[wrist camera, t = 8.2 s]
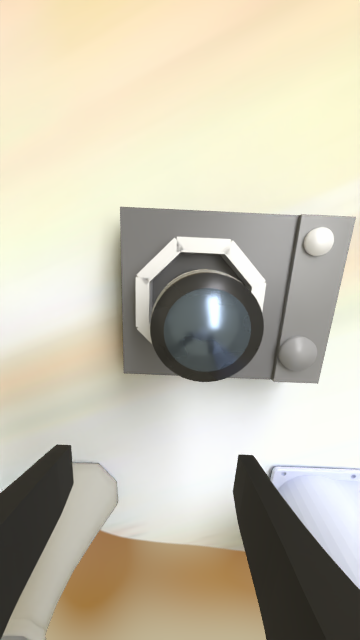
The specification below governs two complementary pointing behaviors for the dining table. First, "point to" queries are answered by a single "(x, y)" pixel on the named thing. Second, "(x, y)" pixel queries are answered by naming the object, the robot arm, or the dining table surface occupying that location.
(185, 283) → the lens
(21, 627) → the flask
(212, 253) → the camera body
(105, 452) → the dining table surface
